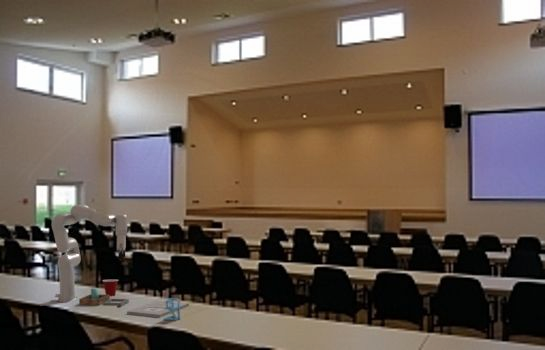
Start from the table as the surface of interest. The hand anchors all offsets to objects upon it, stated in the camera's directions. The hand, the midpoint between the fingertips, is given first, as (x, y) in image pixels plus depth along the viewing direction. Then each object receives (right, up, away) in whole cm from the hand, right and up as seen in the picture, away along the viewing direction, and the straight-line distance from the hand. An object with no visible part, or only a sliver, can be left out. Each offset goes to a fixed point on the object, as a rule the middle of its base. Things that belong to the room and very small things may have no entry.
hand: (122, 258), depth 354 cm
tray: (-1, -29, -9) cm, 30 cm away
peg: (-16, -28, -7) cm, 33 cm away
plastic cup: (-12, -30, +16) cm, 36 cm away
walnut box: (-16, -29, -7) cm, 34 cm away
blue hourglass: (+44, -28, -50) cm, 72 cm away
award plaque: (+30, -29, -26) cm, 49 cm away
